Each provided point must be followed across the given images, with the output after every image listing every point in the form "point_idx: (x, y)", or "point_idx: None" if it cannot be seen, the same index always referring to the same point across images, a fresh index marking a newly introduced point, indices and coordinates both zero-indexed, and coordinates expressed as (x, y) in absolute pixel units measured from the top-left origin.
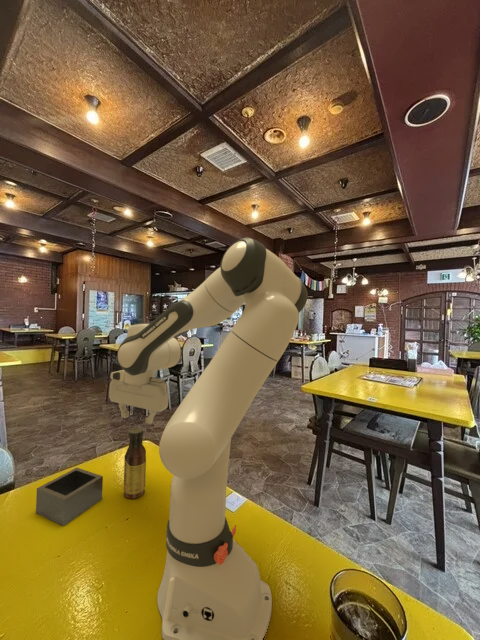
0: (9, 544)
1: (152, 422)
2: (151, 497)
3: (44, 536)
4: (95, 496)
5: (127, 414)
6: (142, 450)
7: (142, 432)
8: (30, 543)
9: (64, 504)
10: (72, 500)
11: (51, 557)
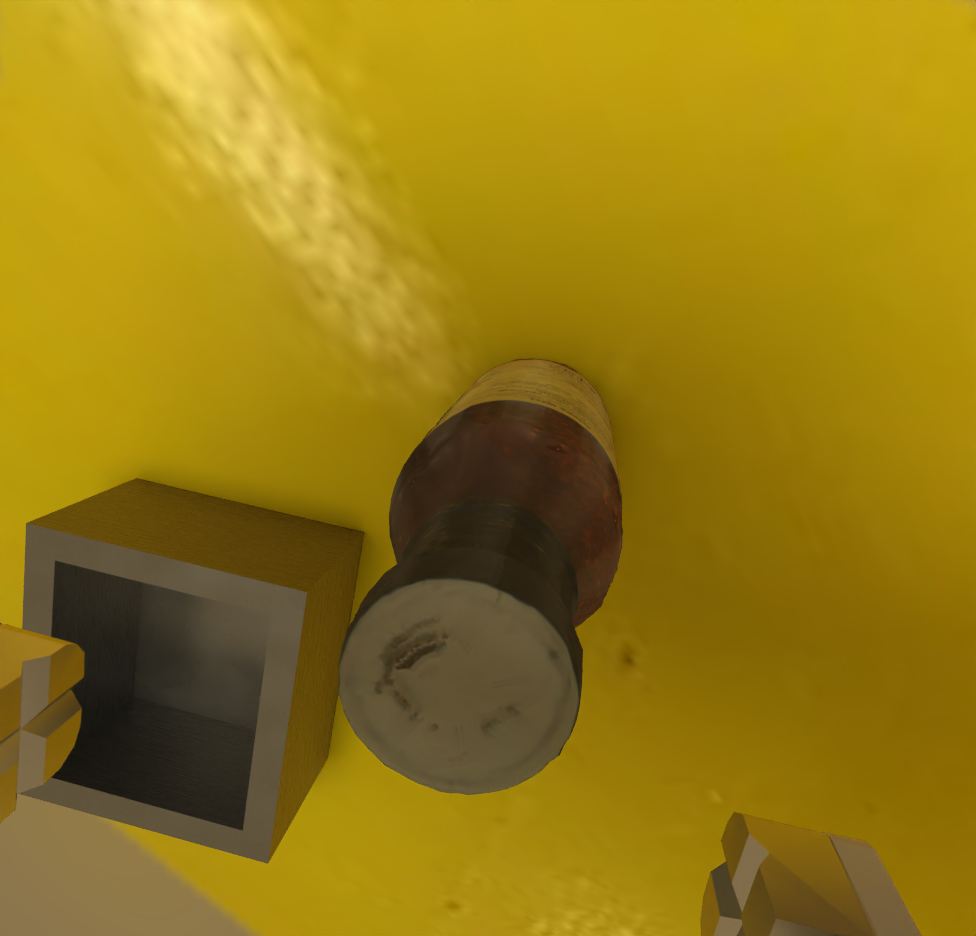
0: (199, 878)
1: (859, 854)
2: (680, 442)
3: (298, 824)
4: (340, 599)
5: (20, 710)
6: (599, 571)
7: (581, 681)
8: (277, 864)
9: (280, 838)
10: (290, 791)
11: (428, 915)
